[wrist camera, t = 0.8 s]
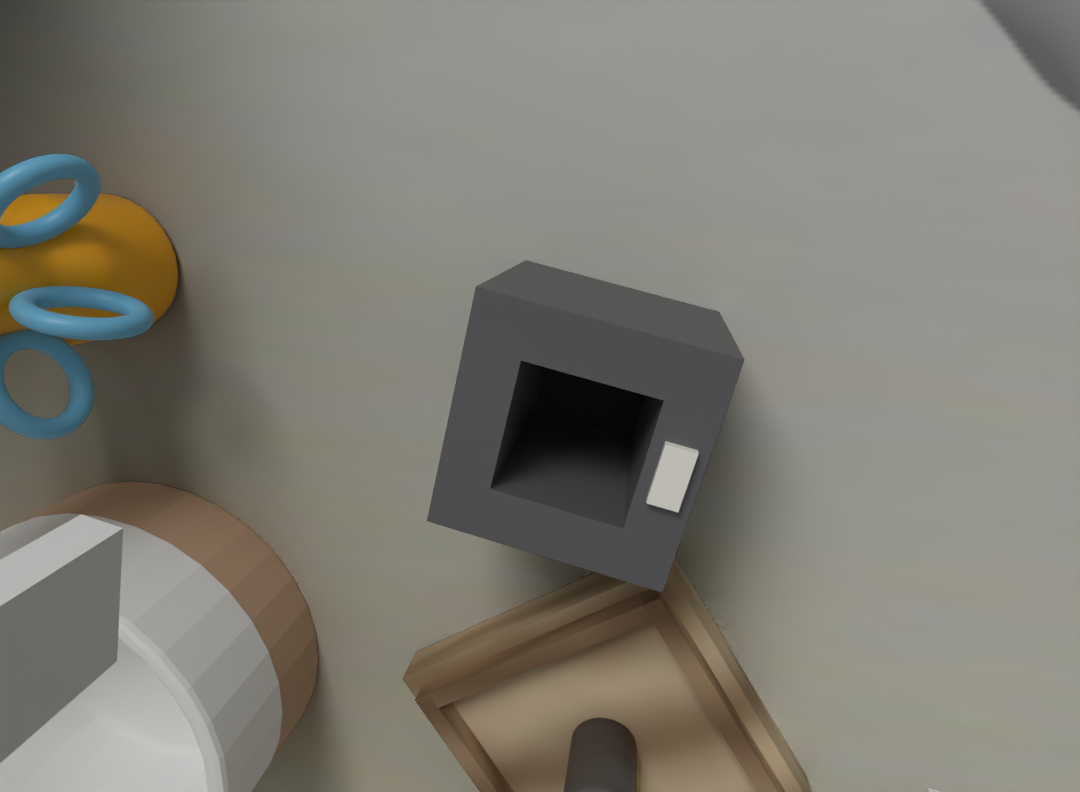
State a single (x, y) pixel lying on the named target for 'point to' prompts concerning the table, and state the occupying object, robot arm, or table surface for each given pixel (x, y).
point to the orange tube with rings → (74, 277)
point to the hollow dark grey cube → (573, 450)
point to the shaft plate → (602, 697)
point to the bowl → (177, 654)
